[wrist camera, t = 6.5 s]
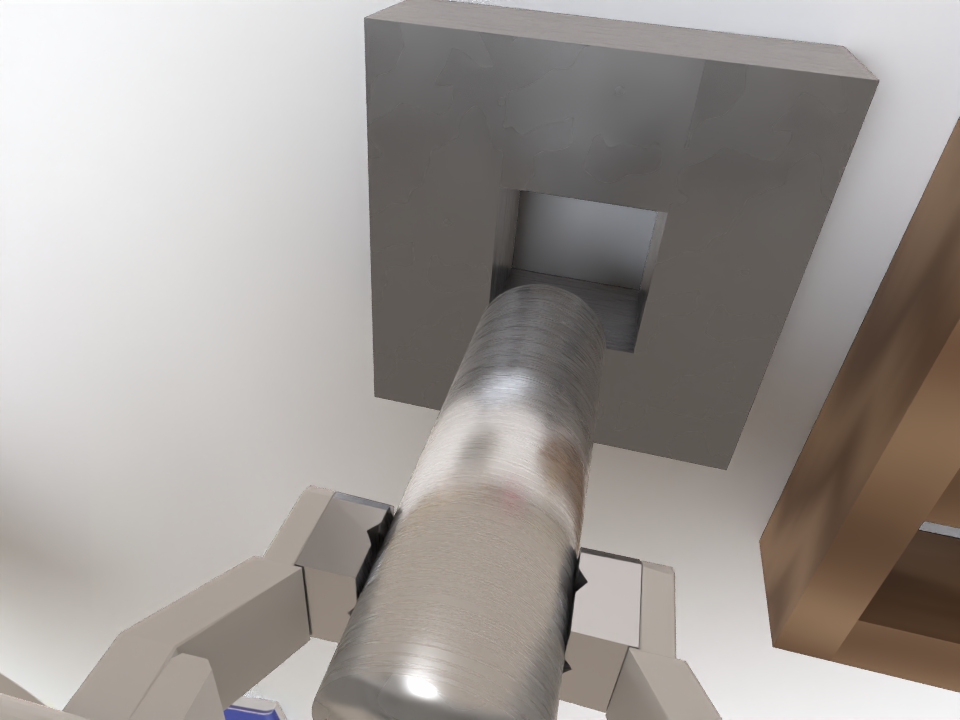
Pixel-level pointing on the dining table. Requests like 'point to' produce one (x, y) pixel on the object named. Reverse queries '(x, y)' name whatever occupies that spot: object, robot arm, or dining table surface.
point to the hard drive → (254, 710)
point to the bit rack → (883, 474)
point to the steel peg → (483, 532)
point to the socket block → (602, 197)
